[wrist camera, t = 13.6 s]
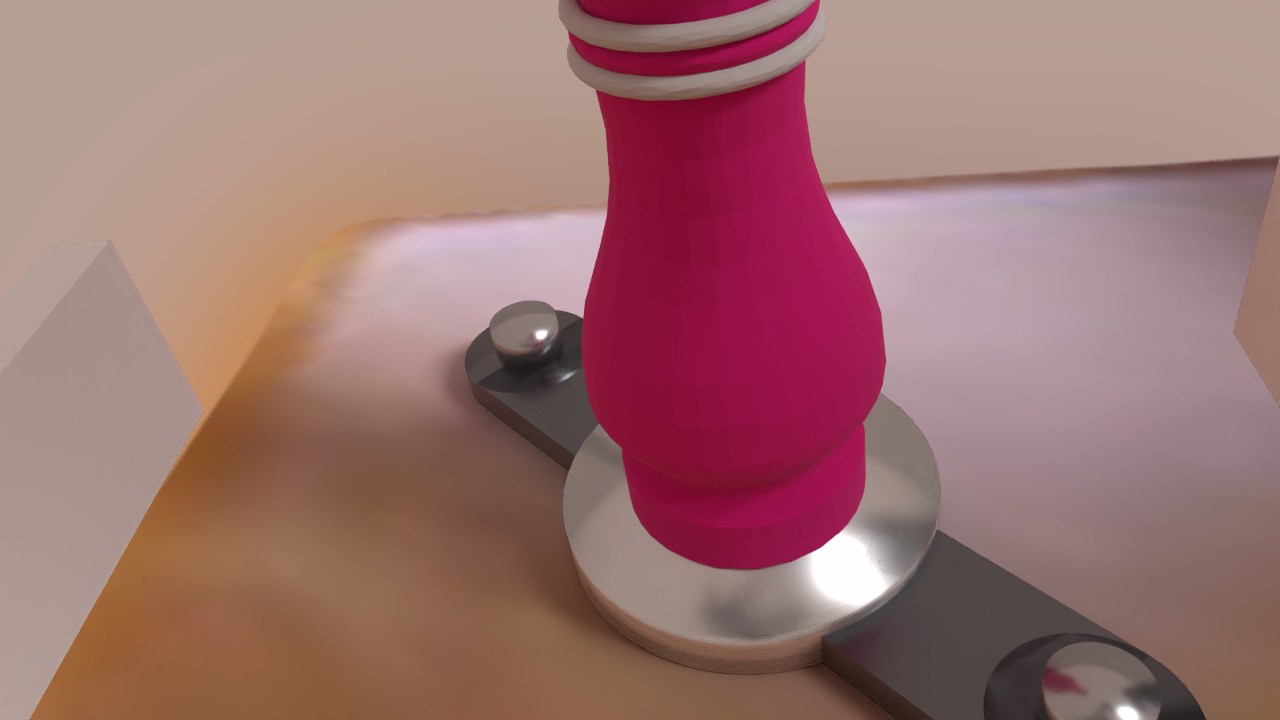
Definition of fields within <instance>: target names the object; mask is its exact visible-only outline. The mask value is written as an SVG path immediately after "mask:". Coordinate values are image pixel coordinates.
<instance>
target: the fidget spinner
mask: <svg viewBox="0 0 1280 720" xmlns="http://www.w3.org/2000/svg"><path fill="white" fill-rule="evenodd" d="M582 328H583V319H582V318H580V317H579V316H577V315H574V314H571V313H568V312H564V311H558V310H554V309H553V308H552V307H551V306H550V305H549V304H547V303H544V302H540V301H522V302H518V303H514V304H511V305H509V306H507V307H505V308H503V309H501V310H500V311H499V312H497V313H496V314H495V315H494V316H493V318H492V319H491V321H490V324H489V327H488V328H487V329H486V330H484V331H483V332H482V333H481V334H480V335H479V336H478V337H477V338H476V339H475V340H474V341H473V342H472V344H471V345H470V347H469V349H468V351H467V353H466V358H465V367H466V371H467V374H468V377H469V380H470V383H471V386H472V390H473V393H474V395H475V397H476V399H477V400H478V401H479V402H480V403H481V404H482V405H483V406H484V407H485V408H487V409H488V410H489V411H491V412H492V413H493V414H495V415H496V416H497V417H499V418H500V419H501V420H503V421H504V422H505V423H507V424H508V425H509V426H511V427H512V428H513V429H515V430H516V431H517V432H519V433H520V434H521V435H522V436H524V437H525V438H526V439H528V440H529V441H530V442H532V443H533V444H534V445H536V446H537V447H538V448H540V449H541V450H542V451H544V452H545V453H546V454H548V455H549V456H550V457H552V458H553V459H554V460H556V461H557V462H558V463H560V464H561V465H562V466H564V467H565V468H566V469H568V470H569V472H568V475H567V479H566V483H565V487H564V494H563V518H564V526H565V530H566V533H567V537H568V541H569V544H570V548H571V552H572V555H573V559H574V562H575V566H576V569H577V573H578V576H579V579H580V582H581V584H582V586H583V588H584V590H585V592H586V594H587V596H588V598H589V599H590V601H591V602H592V604H593V605H594V606H595V608H596V609H597V611H598V612H599V613H600V614H601V616H602V617H603V618H604V619H605V620H606V621H607V622H608V623H609V624H610V625H611V626H612V627H613V628H614V629H615V630H617V631H618V632H619V633H621V634H622V635H623V636H625V637H626V638H627V639H629V640H630V641H631V642H633V643H634V644H636V645H638V646H640V647H642V648H643V649H645V650H647V651H649V652H651V653H652V654H654V655H657V656H660V657H662V658H665V659H667V660H670V661H672V662H675V663H677V664H681V665H685V666H689V667H693V668H696V669H700V670H706V671H713V672H720V673H728V674H764V673H775V672H784V671H789V670H794V669H799V668H804V667H809V666H812V665H815V664H818V663H821V662H823V663H825V664H826V665H827V666H829V667H830V668H831V669H833V670H834V671H835V672H837V673H838V674H839V675H840V676H842V677H843V678H844V679H846V680H847V681H848V682H850V683H851V684H852V685H854V686H855V687H856V688H858V689H859V690H860V691H862V692H863V693H864V694H866V695H867V696H868V697H870V698H871V699H872V700H874V701H875V702H876V703H878V704H879V705H880V706H882V707H883V708H884V709H886V710H887V711H888V712H890V713H891V714H892V715H893V716H895V717H896V718H897V719H899V720H1206V718H1205V716H1204V714H1203V712H1202V710H1201V708H1200V706H1199V704H1198V703H1197V701H1196V700H1195V698H1194V696H1193V695H1192V693H1191V692H1190V691H1189V690H1188V689H1187V687H1186V686H1185V685H1184V684H1183V683H1182V682H1181V681H1180V680H1179V679H1178V678H1177V677H1176V676H1175V675H1174V674H1173V673H1172V672H1171V671H1170V670H1169V669H1167V668H1166V667H1165V666H1164V665H1162V664H1161V663H1160V662H1158V661H1157V660H1155V659H1154V658H1152V657H1151V656H1149V655H1148V654H1146V653H1144V652H1143V651H1141V650H1139V649H1137V648H1136V647H1134V646H1132V645H1131V644H1129V643H1127V642H1126V641H1124V640H1122V639H1121V638H1119V637H1117V636H1116V635H1114V634H1112V633H1111V632H1109V631H1107V630H1106V629H1104V628H1102V627H1100V626H1099V625H1097V624H1095V623H1094V622H1092V621H1090V620H1089V619H1087V618H1085V617H1084V616H1082V615H1080V614H1079V613H1077V612H1075V611H1074V610H1072V609H1070V608H1068V607H1067V606H1065V605H1063V604H1062V603H1060V602H1058V601H1057V600H1055V599H1053V598H1052V597H1050V596H1048V595H1047V594H1045V593H1043V592H1042V591H1040V590H1038V589H1037V588H1035V587H1033V586H1031V585H1030V584H1028V583H1026V582H1025V581H1023V580H1021V579H1020V578H1018V577H1016V576H1015V575H1013V574H1011V573H1010V572H1008V571H1006V570H1005V569H1003V568H1001V567H1000V566H998V565H996V564H994V563H993V562H991V561H989V560H988V559H986V558H984V557H983V556H981V555H979V554H978V553H976V552H974V551H973V550H971V549H969V548H968V547H966V546H964V545H962V544H961V543H959V542H957V541H956V540H954V539H952V538H951V537H949V536H947V535H946V534H944V533H942V532H941V531H939V530H938V528H939V509H940V490H941V486H940V479H939V471H938V467H937V464H936V461H935V457H934V454H933V451H932V450H931V448H930V446H929V444H928V442H927V440H926V438H925V436H924V435H923V433H922V432H921V431H920V429H919V428H918V427H917V425H916V424H915V423H914V421H913V420H912V419H911V418H910V417H909V416H908V415H907V414H906V413H905V412H904V411H903V410H902V409H901V408H900V407H899V406H897V405H896V404H895V403H893V402H892V401H891V400H889V399H888V398H887V397H886V396H884V395H883V394H881V393H879V396H878V399H877V401H876V403H875V405H874V406H873V408H872V410H871V411H870V413H869V415H868V416H867V418H866V420H865V421H864V422H863V425H864V429H865V456H866V481H865V489H864V494H863V497H862V500H861V502H860V505H859V507H858V510H857V512H856V513H855V515H854V516H853V517H852V519H851V520H850V522H849V523H848V524H847V526H846V527H845V528H844V529H843V530H842V531H841V532H840V533H839V534H837V535H836V536H835V537H834V538H833V539H831V540H830V541H829V542H828V543H827V544H825V545H824V546H823V547H822V548H820V549H818V550H816V551H814V552H811V553H809V554H807V555H805V556H803V557H801V558H799V559H796V560H794V561H792V562H788V563H784V564H779V565H775V566H770V567H766V568H761V569H728V568H715V567H711V566H708V565H704V564H701V563H698V562H695V561H691V560H688V559H686V558H684V557H682V556H680V555H678V554H676V553H674V552H672V551H670V550H668V549H666V548H665V547H664V546H663V545H661V544H660V543H659V542H658V541H656V540H655V539H654V538H653V537H652V536H650V535H649V533H648V532H647V531H646V530H645V528H644V527H643V526H642V525H641V523H640V521H639V519H638V517H637V515H636V514H635V512H634V509H633V506H632V502H631V499H630V494H629V489H628V484H627V479H626V474H625V469H624V464H623V459H622V448H621V447H620V446H619V445H618V444H617V443H616V442H614V441H613V440H612V439H611V438H610V437H609V436H608V434H607V433H606V432H605V430H604V429H603V428H602V426H601V425H600V424H599V422H598V421H597V419H596V417H595V415H594V412H593V410H592V408H591V405H590V403H589V398H588V394H587V389H586V384H585V376H584V369H583V361H582V343H581V338H582Z"/></svg>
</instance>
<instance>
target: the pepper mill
mask: <svg viewBox="0 0 1280 720" xmlns="http://www.w3.org/2000/svg"><path fill="white" fill-rule="evenodd" d="M819 4H820V0H559V18H560V20H561V21H562V23H563V24H564V26H565V27H566V29H567V30H568V33H569V39H570V42H569V45H568V49H567V57H568V61H569V66H570V68H571V69H572V70H573V72H574V74H575V75H576V76H577V77H578V78H579V79H580V80H581V81H583V82H584V83H586V84H587V85H589V86H590V87H592V88H594V89H596V92H597V97H598V101H599V105H600V109H601V113H602V117H603V120H604V125H605V129H606V139H607V152H608V164H609V176H610V184H609V196H608V209H607V218H606V222H605V226H604V231H603V235H602V240H601V244H600V248H599V252H598V256H597V259H596V263H595V267H594V270H593V274H592V278H591V282H590V285H589V289H588V293H587V297H586V300H585V308H584V318H583V328H582V338H581V343H582V361H583V369H584V376H585V384H586V389H587V394H588V398H589V403H590V405H591V408H592V410H593V412H594V415H595V417H596V419H597V421H598V422H599V424H600V425H601V426H602V428H603V429H604V430H605V432H606V433H607V434H608V436H609V437H610V438H611V439H612V440H613V441H614V442H616V443H617V444H618V445H619V446H620V447H621V448H622V459H623V464H624V469H625V474H626V479H627V484H628V489H629V494H630V499H631V502H632V506H633V509H634V512H635V514H636V515H637V517H638V519H639V521H640V523H641V525H642V526H643V527H644V528H645V530H646V531H647V532H648V533H649V535H650V536H652V537H653V538H654V539H655V540H656V541H658V542H659V543H660V544H661V545H663V546H664V547H665V548H666V549H668V550H670V551H672V552H674V553H676V554H678V555H680V556H682V557H684V558H686V559H688V560H691V561H695V562H698V563H701V564H704V565H708V566H711V567H715V568H728V569H761V568H766V567H770V566H775V565H779V564H784V563H788V562H792V561H794V560H796V559H799V558H801V557H803V556H805V555H807V554H809V553H811V552H814V551H816V550H818V549H820V548H822V547H823V546H824V545H825V544H827V543H828V542H829V541H830V540H831V539H833V538H834V537H835V536H836V535H837V534H839V533H840V532H841V531H842V530H843V529H844V528H845V527H846V526H847V524H848V523H849V522H850V520H851V519H852V517H853V516H854V515H855V513H856V512H857V510H858V507H859V505H860V502H861V500H862V497H863V494H864V489H865V481H866V456H865V429H864V425H863V422H864V421H865V420H866V418H867V416H868V415H869V413H870V411H871V410H872V408H873V406H874V405H875V403H876V401H877V399H878V396H879V393H880V391H881V388H882V385H883V379H884V372H885V365H886V356H885V347H884V337H883V327H882V318H881V311H880V308H879V305H878V302H877V299H876V296H875V293H874V290H873V287H872V284H871V282H870V279H869V276H868V273H867V270H866V268H865V266H864V264H863V262H862V261H861V259H860V257H859V255H858V253H857V252H856V250H855V248H854V246H853V245H852V243H851V241H850V239H849V238H848V236H847V234H846V232H845V231H844V229H843V227H842V225H841V224H840V222H839V220H838V218H837V216H836V215H835V213H834V211H833V209H832V206H831V204H830V202H829V200H828V197H827V195H826V193H825V191H824V188H823V186H822V183H821V180H820V177H819V174H818V171H817V168H816V165H815V162H814V159H813V156H812V152H811V145H810V138H809V131H808V124H807V117H806V110H805V103H804V90H805V60H806V58H808V57H809V56H810V55H811V54H812V53H813V52H814V51H815V50H816V49H817V47H818V46H819V44H820V43H821V42H822V40H823V37H824V34H825V31H826V28H827V24H826V17H825V14H824V11H823V9H822V8H821V6H820V5H819Z"/></svg>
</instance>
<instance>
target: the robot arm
mask: <svg viewBox="0 0 1280 720" xmlns="http://www.w3.org/2000/svg"><path fill="white" fill-rule="evenodd" d="M1233 333H1234V334H1235V336H1236V337H1237V339H1238V341H1239V342H1240V344H1241V345H1242V347H1243V349H1244V350H1245V352H1246V354H1247V355H1248V357H1249V358H1250V360H1251V362H1252V363H1253V365H1254V367H1255V368H1256V370H1257V371H1258V373H1259V375H1260V376H1261V378H1262V379H1263V381H1264V383H1265V384H1266V386H1267V388H1268V389H1269V391H1270V392H1271V394H1272V396H1273V397H1274V399H1275V401H1276V402H1277V404H1278V405H1279V407H1280V157H1279V161H1278V165H1277V168H1276V172H1275V176H1274V180H1273V184H1272V187H1271V191H1270V195H1269V199H1268V203H1267V206H1266V210H1265V214H1264V218H1263V222H1262V225H1261V229H1260V233H1259V237H1258V241H1257V245H1256V248H1255V252H1254V256H1253V260H1252V264H1251V267H1250V271H1249V275H1248V279H1247V283H1246V286H1245V290H1244V294H1243V298H1242V302H1241V305H1240V309H1239V313H1238V317H1237V321H1236V325H1235V328H1234V332H1233ZM203 412H204V409H203V407H202V406H201V404H200V402H199V400H198V398H197V396H196V395H195V393H194V391H193V389H192V387H191V386H190V384H189V382H188V380H187V378H186V376H185V375H184V373H183V371H182V369H181V367H180V366H179V364H178V362H177V360H176V358H175V357H174V355H173V353H172V351H171V349H170V347H169V346H168V344H167V342H166V340H165V338H164V337H163V335H162V333H161V331H160V329H159V327H158V326H157V324H156V322H155V320H154V318H153V317H152V315H151V313H150V311H149V309H148V308H147V306H146V304H145V302H144V300H143V298H142V297H141V295H140V293H139V291H138V289H137V288H136V286H135V284H134V282H133V280H132V279H131V277H130V275H129V273H128V271H127V269H126V268H125V266H124V264H123V262H122V261H121V259H120V257H119V255H118V253H117V251H116V249H115V248H114V246H113V244H112V242H111V240H106V241H96V242H85V243H76V244H66V245H56V246H51V248H50V249H49V250H48V251H47V252H46V253H45V254H44V255H43V257H42V258H41V259H40V260H39V261H38V262H37V263H36V264H35V265H34V267H33V268H32V269H31V270H30V271H29V272H28V273H27V275H26V276H25V277H24V278H23V279H22V280H21V281H20V282H19V283H18V284H17V286H16V287H15V288H14V289H13V290H12V291H11V292H10V293H9V295H8V296H7V297H6V298H5V299H4V300H3V301H2V302H1V303H0V720H29V719H30V717H31V716H32V714H33V712H34V710H35V709H36V707H37V705H38V703H39V701H40V700H41V698H42V696H43V694H44V693H45V691H46V689H47V687H48V686H49V684H50V682H51V680H52V679H53V677H54V675H55V673H56V671H57V670H58V668H59V666H60V664H61V663H62V661H63V659H64V657H65V656H66V654H67V652H68V650H69V648H70V647H71V645H72V643H73V641H74V640H75V638H76V636H77V634H78V633H79V631H80V629H81V627H82V625H83V624H84V622H85V620H86V618H87V617H88V615H89V613H90V611H91V610H92V608H93V606H94V604H95V603H96V601H97V599H98V597H99V595H100V594H101V592H102V590H103V588H104V587H105V585H106V583H107V581H108V580H109V578H110V576H111V574H112V572H113V571H114V569H115V567H116V565H117V564H118V562H119V560H120V558H121V557H122V555H123V553H124V551H125V549H126V548H127V546H128V544H129V542H130V541H131V539H132V537H133V535H134V534H135V532H136V530H137V528H138V527H139V525H140V523H141V521H142V519H143V518H144V516H145V514H146V512H147V511H148V509H149V507H150V505H151V504H152V502H153V500H154V498H155V496H156V495H157V493H158V491H159V489H160V488H161V486H162V484H163V482H164V481H165V479H166V477H167V475H168V473H169V472H170V470H171V468H172V466H173V465H174V463H175V461H176V459H177V458H178V456H179V454H180V452H181V451H182V449H183V447H184V445H185V443H186V441H187V440H188V438H189V436H190V435H191V433H192V431H193V429H194V428H195V426H196V424H197V422H198V420H199V419H200V417H201V415H202V413H203Z"/></svg>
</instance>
